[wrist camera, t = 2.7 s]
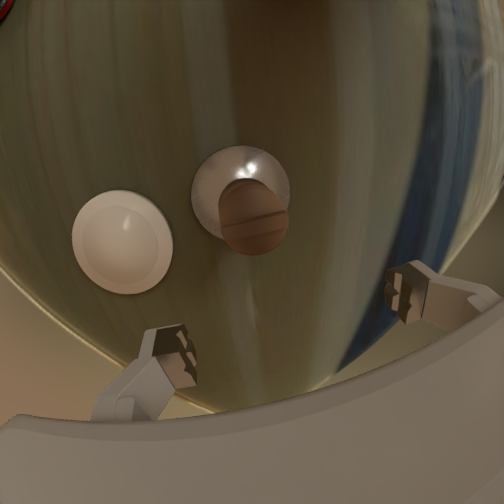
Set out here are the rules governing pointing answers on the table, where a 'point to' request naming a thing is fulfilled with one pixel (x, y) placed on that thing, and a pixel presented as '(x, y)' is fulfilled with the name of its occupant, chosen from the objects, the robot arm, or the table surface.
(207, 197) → the pedestal
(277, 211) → the cap
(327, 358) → the table surface
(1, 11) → the beverage can
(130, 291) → the saucer
